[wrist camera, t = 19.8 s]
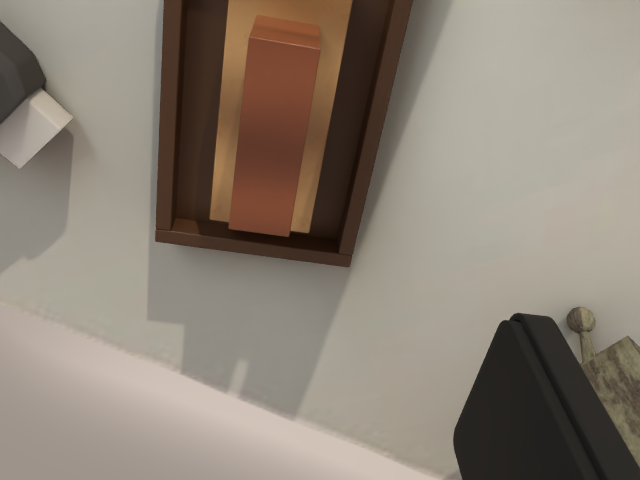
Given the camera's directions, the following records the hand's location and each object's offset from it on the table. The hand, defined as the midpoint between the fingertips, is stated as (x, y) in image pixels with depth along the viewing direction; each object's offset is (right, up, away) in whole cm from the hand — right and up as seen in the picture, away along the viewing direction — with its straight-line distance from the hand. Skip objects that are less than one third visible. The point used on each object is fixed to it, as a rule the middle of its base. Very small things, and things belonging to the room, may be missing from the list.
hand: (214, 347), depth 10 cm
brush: (0, +9, +20) cm, 22 cm away
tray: (0, +10, +20) cm, 22 cm away
